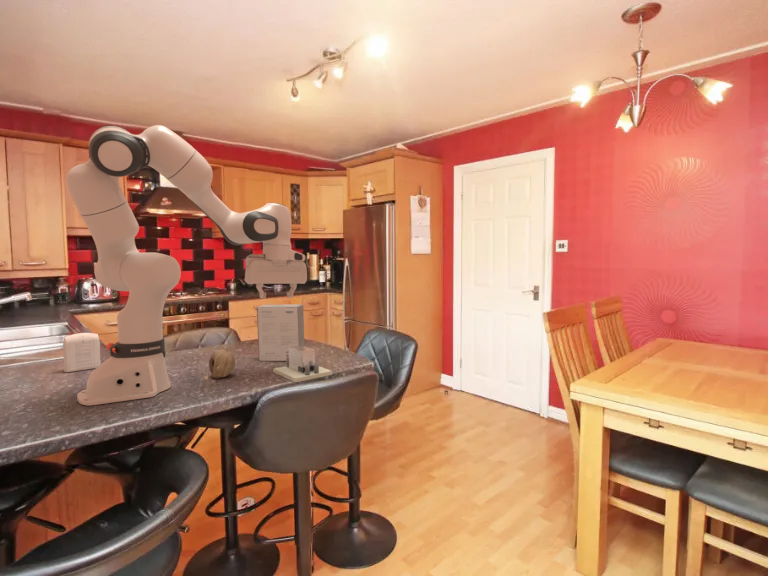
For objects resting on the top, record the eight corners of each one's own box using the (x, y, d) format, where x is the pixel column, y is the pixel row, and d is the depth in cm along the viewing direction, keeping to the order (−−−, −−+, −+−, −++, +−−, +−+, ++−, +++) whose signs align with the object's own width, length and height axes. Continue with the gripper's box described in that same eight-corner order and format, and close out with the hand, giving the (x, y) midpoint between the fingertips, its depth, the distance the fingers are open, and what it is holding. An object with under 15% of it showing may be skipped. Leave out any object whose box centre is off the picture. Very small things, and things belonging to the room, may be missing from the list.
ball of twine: (220, 380, 141) (220, 349, 143) (242, 377, 139) (242, 346, 141) (200, 379, 132) (201, 346, 135) (223, 376, 130) (224, 343, 133)
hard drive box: (305, 357, 162) (304, 304, 161) (299, 362, 155) (298, 306, 153) (265, 356, 164) (264, 304, 162) (257, 361, 156) (256, 306, 155)
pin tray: (295, 382, 130) (295, 368, 129) (273, 372, 141) (273, 359, 141) (332, 374, 138) (331, 361, 138) (308, 365, 149) (308, 353, 149)
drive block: (302, 374, 134) (302, 351, 134) (288, 368, 141) (288, 347, 141) (315, 371, 137) (315, 349, 137) (301, 365, 144) (301, 345, 144)
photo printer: (99, 365, 151) (97, 330, 150) (102, 367, 148) (100, 332, 147) (63, 371, 143) (60, 334, 142) (65, 373, 140) (63, 336, 139)
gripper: (249, 253, 129) (249, 299, 130) (309, 255, 142) (309, 297, 143) (241, 253, 134) (241, 298, 135) (300, 256, 147) (299, 296, 148)
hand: (276, 297), depth 139 cm, fingers open, 8 cm apart
